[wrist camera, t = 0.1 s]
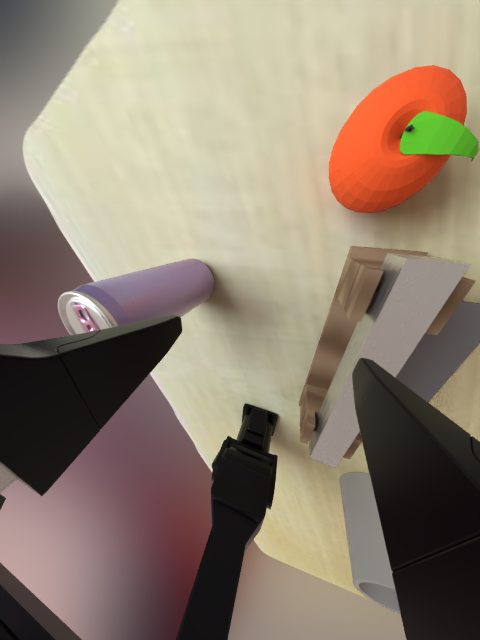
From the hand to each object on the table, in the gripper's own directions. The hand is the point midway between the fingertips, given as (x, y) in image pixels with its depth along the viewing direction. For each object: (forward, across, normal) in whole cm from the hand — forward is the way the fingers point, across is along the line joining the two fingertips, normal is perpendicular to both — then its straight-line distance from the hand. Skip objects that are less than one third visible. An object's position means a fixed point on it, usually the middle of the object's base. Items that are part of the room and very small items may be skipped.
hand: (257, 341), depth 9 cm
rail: (+10, -9, +8) cm, 15 cm away
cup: (+15, -22, +37) cm, 46 cm away
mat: (+15, -16, +8) cm, 23 cm away
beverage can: (+15, +12, +2) cm, 19 cm away
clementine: (+15, -6, -10) cm, 19 cm away
